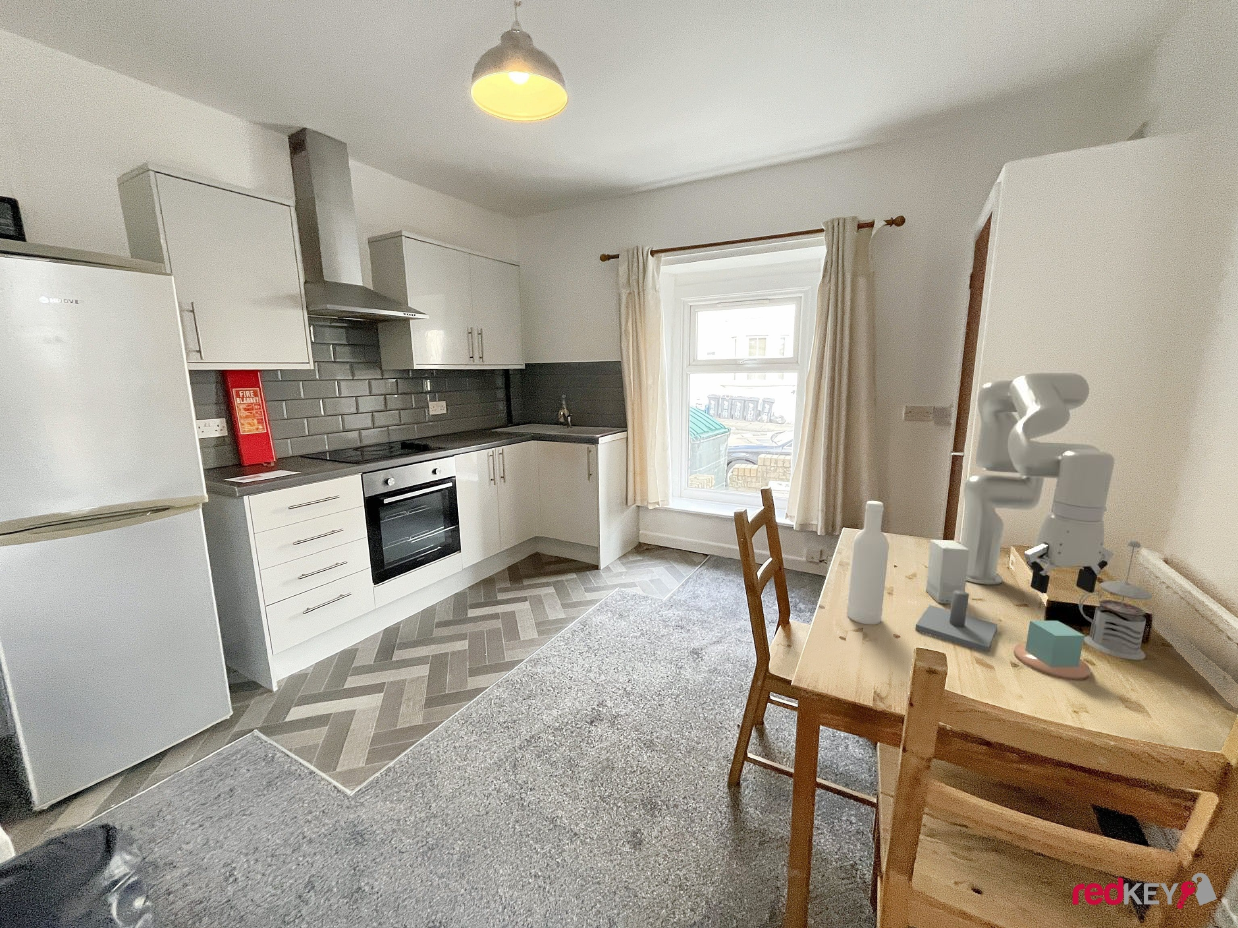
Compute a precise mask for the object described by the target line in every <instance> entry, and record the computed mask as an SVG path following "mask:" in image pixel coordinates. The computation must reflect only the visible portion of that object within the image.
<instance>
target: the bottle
mask: <svg viewBox="0 0 1238 928" xmlns="http://www.w3.org/2000/svg"><path fill="white" fill-rule="evenodd" d="M884 509H885V508H884V503H883V502H881V501H878V500H877V501H876V500H868V501H867V502H866V504H865V513H864V527H863V529H861V530H860V531H858V532H857V533H856V535H855V538H854V539H853V542H852V543H853V544H852V551H851V552H852V553H851V554H852V555H851V563H850V573H849V583H848V595H847V603H846V615H847V617H848V618H850V620H853V621H854V622H857V623H858V624H863V625H869V626H870V625H877V624H879V623H881V621H882V616H883V605H884V597H885V596H884V594H885V587H886V579H887V577H886V576H887V569H888V567H887V566H888V561H889V560H888V559H889V550H890V545H889V541H888V538H887V536H886V535H885V534H884V532H882V531H881V530H882V521H883V513H884V511H885V510H884Z"/></svg>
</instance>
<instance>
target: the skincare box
mask: <svg viewBox="0 0 1238 928" xmlns="http://www.w3.org/2000/svg"><path fill="white" fill-rule="evenodd" d="M968 556H969V549H967V548H965V547H964V546H962V545H961V543H959V542H958V541H956V540H952V539H951V540H950V539H949V540H948V539H947V540H946V539H944V540H943V539H942V540H941V539H930V540H929V553H928V560H927V561H928V564H927V576H926V584H925V585H926V587H925V592H926V591H927V592H928V593H927V592H926V593H927V594H929V596H931V597H932V599H934V601H936V602H937V603H938V604H947V605H952V599H953V591H955V590H960V591H964V592H966V585H967V580H966V576H967V567H968Z"/></svg>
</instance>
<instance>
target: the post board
mask: <svg viewBox="0 0 1238 928" xmlns="http://www.w3.org/2000/svg"><path fill="white" fill-rule="evenodd" d="M969 597H970V594H969V593H968V592H966V591H965V592H964V591H960V590H955V591H953V599H952V604H951V605H950V609H949V610H948V609H946V608H942V607H939V606H935V605H933V604H932V605H931V604H929V605H928V607H927V608H926V610H924V613H923V614H922V615H921V617H920V618H919V619H918V621H917V622H916V624H915V631H916V630H918V631H917V632H920V631H921V632H920V633H923V632H924V633H923V634H926V633H927V634H926V635H929V634H931V635H930V636H932V635H933V637H935V636H936V637H935V638H939V639H942V640H945V641H949V642H952V643H955V644H958V645H961V646H962V647H963V646H964V647H967V648H970V649H972V650H973V649H974V650H976V651H980V652H983V653H986V654H989V652H990V650H991V646H992V644H993V641H994V639H995V636H996V632H997V631H998V623H995V622H991V621H988V620H985V619H982V618H978V617H973V616H971V615H968V614H967V612H968V603H969Z"/></svg>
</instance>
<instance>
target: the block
mask: <svg viewBox="0 0 1238 928" xmlns="http://www.w3.org/2000/svg"><path fill="white" fill-rule="evenodd" d="M1027 630H1028V631H1027V636H1026V637H1027V638H1026V642H1025V643H1026V648H1025V651H1027V652H1028V653H1030V654H1031V655H1033V656H1034V657H1036V658H1037V659H1039V660H1040V661H1042V662H1043V663H1045V664H1046V665H1048V666H1049V667H1079V662H1080V659H1081V658H1082V651H1083V645H1084V642H1085V641H1084V637H1086V635H1084V634H1082V632H1079V631H1077V630H1075V629H1073V628H1072V627H1070V626H1069V625H1066V624H1064V623H1062V622H1060V621H1059V620H1030V621H1029V625H1028V629H1027Z"/></svg>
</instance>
